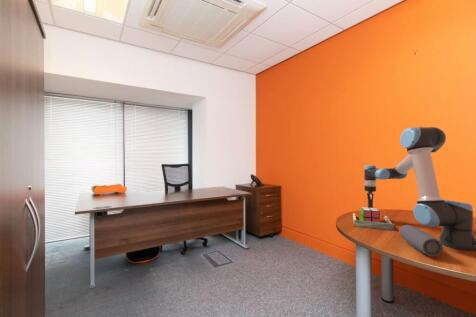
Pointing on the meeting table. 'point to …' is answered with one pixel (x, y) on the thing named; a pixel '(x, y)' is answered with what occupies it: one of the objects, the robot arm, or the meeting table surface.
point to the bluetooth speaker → (421, 240)
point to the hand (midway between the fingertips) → (370, 217)
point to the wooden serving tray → (374, 224)
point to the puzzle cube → (370, 214)
